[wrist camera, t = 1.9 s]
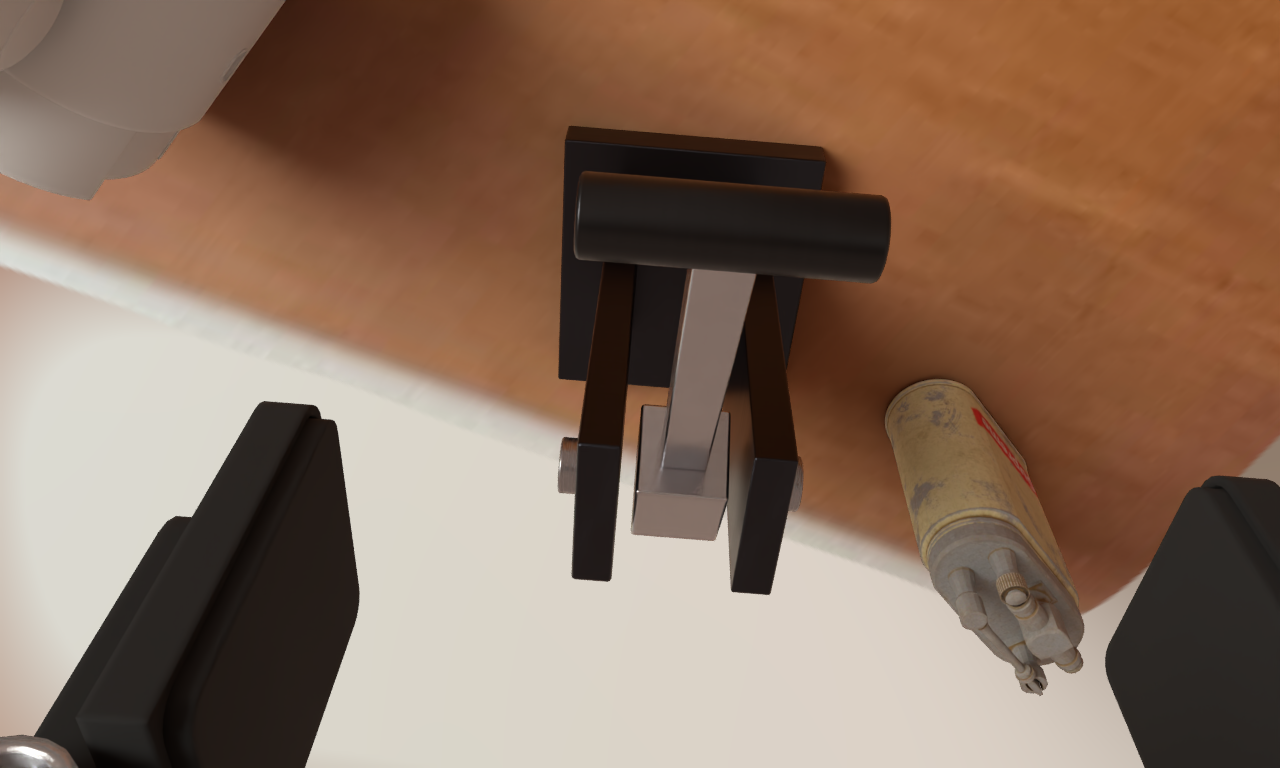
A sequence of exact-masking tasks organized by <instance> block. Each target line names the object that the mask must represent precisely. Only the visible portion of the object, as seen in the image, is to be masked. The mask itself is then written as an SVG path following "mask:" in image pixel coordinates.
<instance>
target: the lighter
mask: <svg viewBox="0 0 1280 768" xmlns="http://www.w3.org/2000/svg"><path fill="white" fill-rule="evenodd" d="M885 428H886V432H887V435H888V437H889V439H890V440H891V443H892V447H893V451H894V455H895V459H896V463H897V467H898V471H899V475H900V479H901V483H902V487H903V490H904V494H905V498H906V502H907V506H908V510H909V514H910V518H911V522H912V526H913V530H914V534H915V537H916V541H917V545H918V549H919V553H920V557H921V560H922V563H923V565H924V566H925V567H926V568H927V569H928V571H929V572H930V576H931V579H932V583H933V585H934V588H935V589H936V590H937V591H938V593H939V594H940V595H941V596H942V597H943V598H944V600H945V601H946V602H947V603H948V604H949V605H950V606H951V608H952V609H953V610H954V611H955V612H956V613H957V614H958V616H959V618H960V621H961V624H962V626H963V627H964V628H966V629H969V630H972V631H973V632H974V633H975V634H976V635H977V636H978V637H979V638H980V639H981V641H982V642H983V643H984V644H985V645H986V646H987V647H988V648H989V649H990V650H991V651H992V652H993V653H994V654H995V655H996V656H997V657H999V658H1000V659H1002V660H1004V661H1006V662H1009V663H1011V664H1012V665H1013V666H1014V667H1015V675H1016V678H1017V679H1018V680H1019V683H1020V686H1021V689H1022V690H1023V691H1024V692H1026V693H1036V694H1038V695H1040V696H1041V695H1043V693H1042V690H1044V689H1046V687H1047V685H1048V683H1047V680H1046V677H1045V674H1044V671H1043V669H1042V668H1041V667H1040V666H1041V665H1046V664H1050V663H1053V662H1055V663H1056V665H1057V666H1058V667H1059V668H1060V669H1062V670H1064V671H1065V672H1067V673H1071V674H1072V673H1076V672H1078V671H1079V670H1080V669H1081V668H1082V666H1083V659H1082V658H1081V654H1080V652H1079V651H1078V650H1077V646H1078V644H1079V643H1080V641H1081V639H1082V637H1083V633H1084V623H1083V619H1082V617H1081V614H1080V612H1079V609H1078V607H1079V597H1078V593H1077V591H1076V588H1075V586H1074V583H1073V581H1072V579H1071V576H1070V574H1069V571H1068V569H1067V567H1066V564H1065V562H1064V559H1063V557H1062V554H1061V552H1060V550H1059V547H1058V545H1057V542H1056V540H1055V537H1054V535H1053V533H1052V530H1051V528H1050V525H1049V523H1048V521H1047V518H1046V516H1045V513H1044V511H1043V508H1042V506H1041V504H1040V501H1039V499H1038V496H1037V494H1036V492H1035V489H1034V487H1033V484H1032V482H1031V479H1030V477H1029V475H1028V469H1027V466H1026V462H1025V460H1024V459H1023V457H1022V456H1021V455H1020V453H1019V452H1018V451H1017V449H1016V448H1015V447H1014V445H1013V444H1012V443H1011V441H1010V440H1009V439H1008V437H1007V436H1006V435H1005V434H1004V432H1003V431H1002V430H1001V428H1000V427H999V426H998V424H997V423H996V422H995V420H994V419H993V418H992V416H991V415H990V414H989V412H988V411H987V410H986V409H985V407H984V406H983V405H982V403H981V402H980V401H979V399H978V398H977V397H976V395H975V394H974V393H973V391H972V390H971V389H970V388H968V387H966V386H965V385H963V384H961V383H958V382H956V381H951V380H947V379H933V380H926V381H922V382H918V383H916V384H914V385H911V386H909V387H907V388H906V389H904V390H903V391H901V392H900V393H899V394H898V395H897V396H896V397H895V398H894V399H893V400H892V402H891V403H890V405H889V407H888V409H887V411H886V416H885ZM1040 686H1041V687H1040ZM1041 689H1042V690H1041Z"/></svg>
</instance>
